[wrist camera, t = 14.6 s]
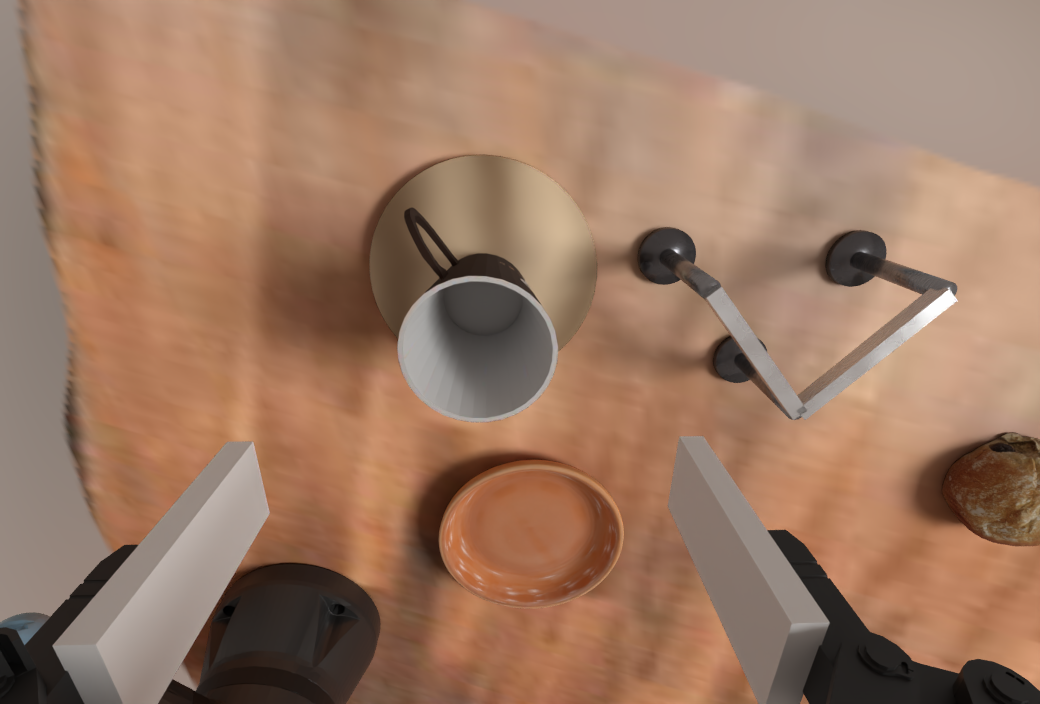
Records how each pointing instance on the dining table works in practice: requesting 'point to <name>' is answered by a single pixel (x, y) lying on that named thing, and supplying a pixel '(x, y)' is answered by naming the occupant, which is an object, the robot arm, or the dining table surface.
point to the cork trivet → (487, 236)
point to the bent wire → (847, 264)
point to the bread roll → (998, 490)
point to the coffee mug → (475, 336)
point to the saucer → (531, 534)
